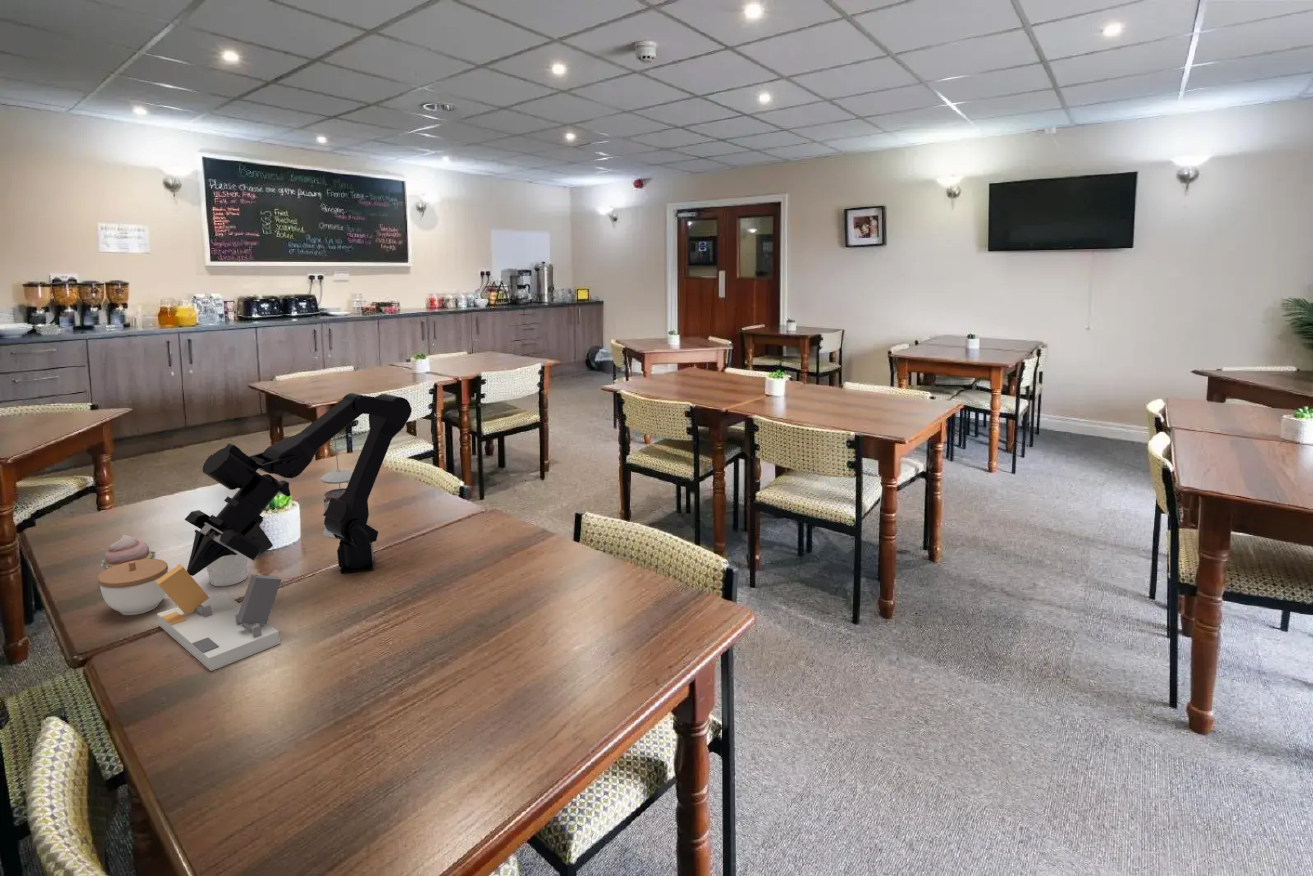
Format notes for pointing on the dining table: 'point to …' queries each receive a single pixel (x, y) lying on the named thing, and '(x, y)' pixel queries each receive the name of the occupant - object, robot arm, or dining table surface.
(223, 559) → the white cup
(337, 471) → the french press
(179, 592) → the orange rocker
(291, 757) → the dining table surface
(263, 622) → the charcoal rocker
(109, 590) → the lidded jar
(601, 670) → the dining table surface
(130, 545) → the cupcake
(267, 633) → the switch console
